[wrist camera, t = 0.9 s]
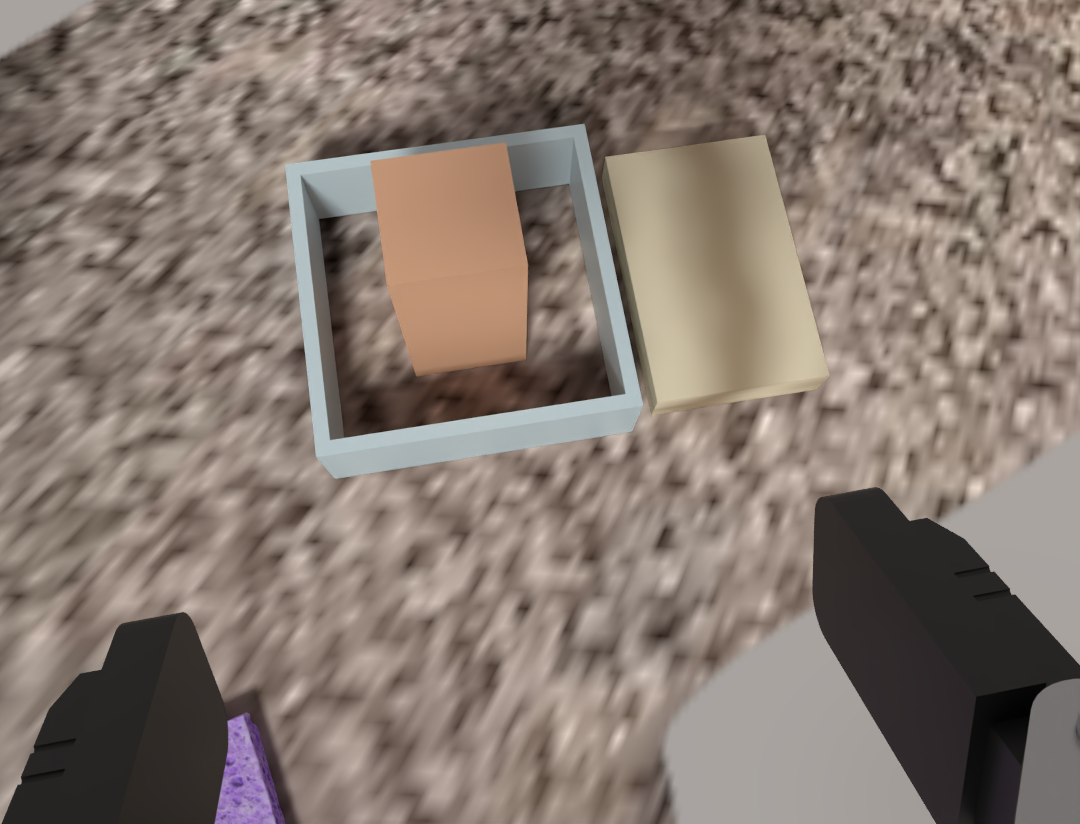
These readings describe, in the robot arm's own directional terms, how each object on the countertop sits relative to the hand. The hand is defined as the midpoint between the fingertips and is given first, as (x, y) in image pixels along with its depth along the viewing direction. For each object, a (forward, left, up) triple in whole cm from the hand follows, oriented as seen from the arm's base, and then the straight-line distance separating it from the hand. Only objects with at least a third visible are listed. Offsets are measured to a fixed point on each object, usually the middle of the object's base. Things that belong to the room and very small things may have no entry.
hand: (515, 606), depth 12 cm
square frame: (0, +16, -28) cm, 32 cm away
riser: (+11, +16, -28) cm, 34 cm away
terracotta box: (0, +16, -28) cm, 32 cm away
